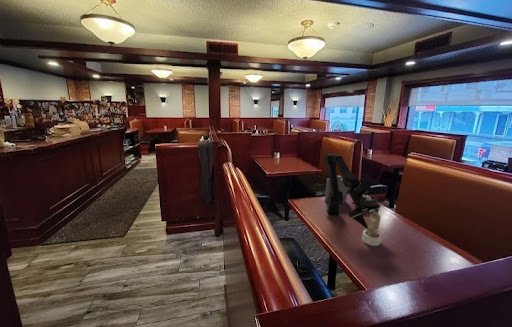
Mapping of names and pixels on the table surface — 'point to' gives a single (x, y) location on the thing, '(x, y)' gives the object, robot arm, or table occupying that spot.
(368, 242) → the socket
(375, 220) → the pepper mill
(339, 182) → the hip flask
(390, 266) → the table surface
